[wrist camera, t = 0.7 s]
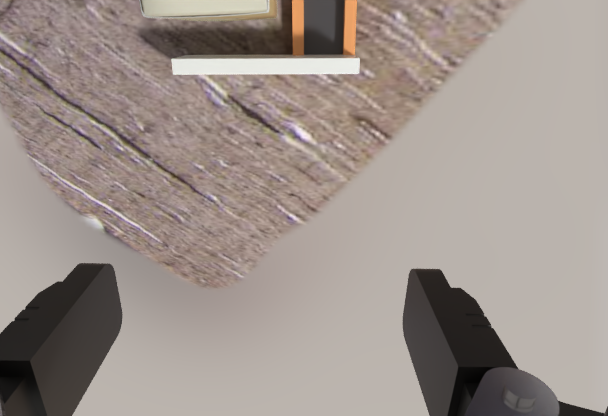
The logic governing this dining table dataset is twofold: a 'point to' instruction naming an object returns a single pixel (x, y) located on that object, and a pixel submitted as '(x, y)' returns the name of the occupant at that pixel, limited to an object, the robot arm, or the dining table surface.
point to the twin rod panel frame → (294, 46)
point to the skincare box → (209, 9)
